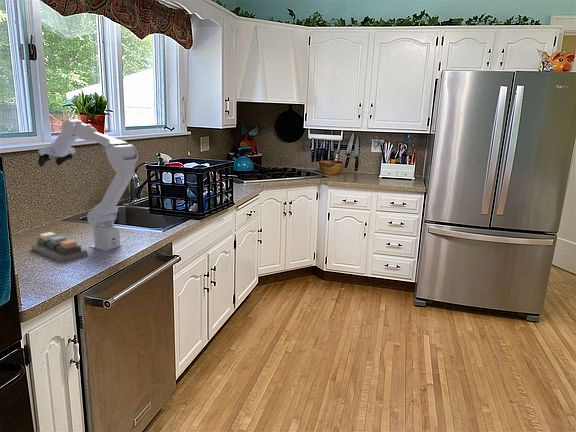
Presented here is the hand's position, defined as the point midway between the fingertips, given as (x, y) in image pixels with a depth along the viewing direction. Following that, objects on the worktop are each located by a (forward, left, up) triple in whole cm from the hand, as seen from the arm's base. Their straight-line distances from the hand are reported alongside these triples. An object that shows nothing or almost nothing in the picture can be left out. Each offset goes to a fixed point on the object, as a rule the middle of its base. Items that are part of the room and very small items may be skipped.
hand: (48, 164), depth 172 cm
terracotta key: (-27, +14, -27) cm, 41 cm away
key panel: (-20, +13, -31) cm, 39 cm away
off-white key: (-12, +12, -27) cm, 32 cm away
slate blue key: (-20, +13, -27) cm, 36 cm away
